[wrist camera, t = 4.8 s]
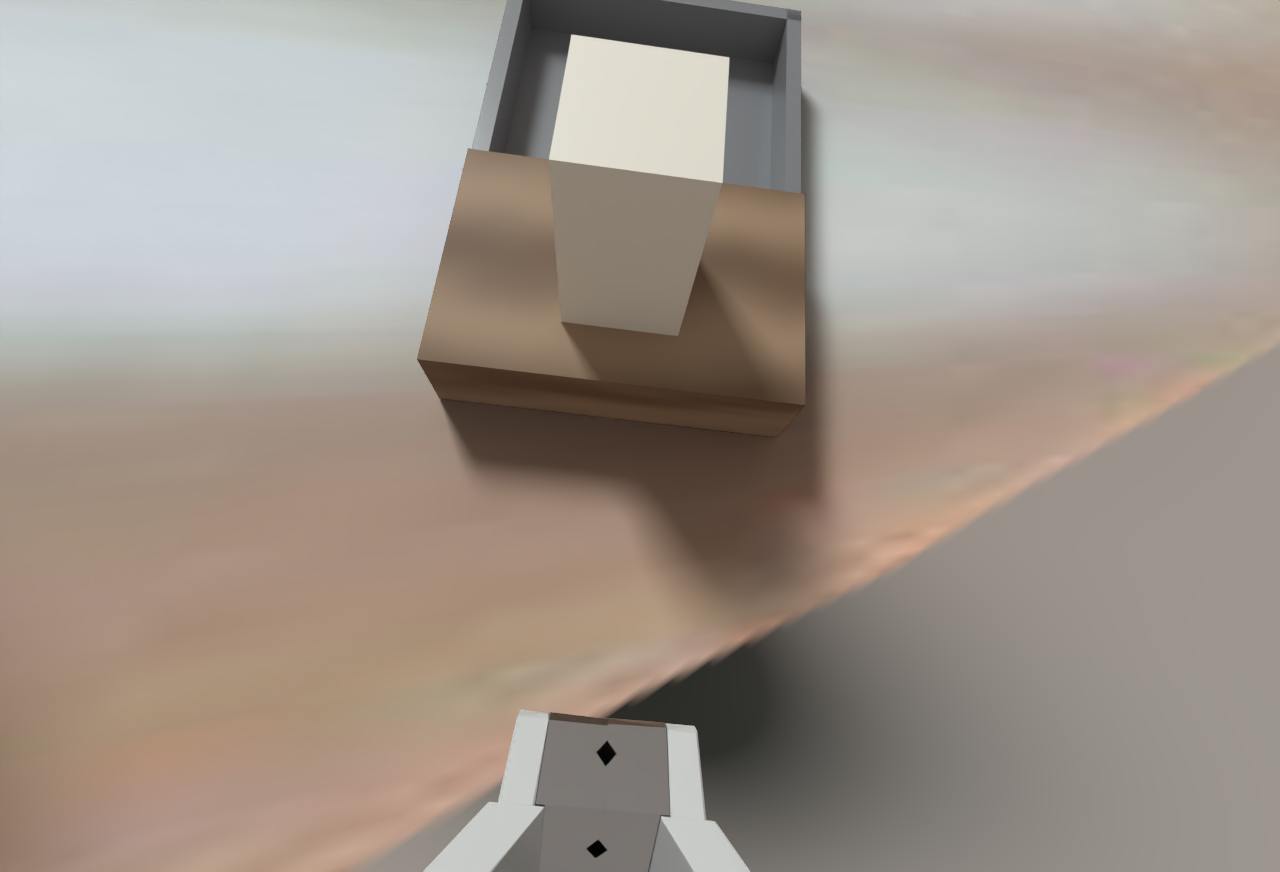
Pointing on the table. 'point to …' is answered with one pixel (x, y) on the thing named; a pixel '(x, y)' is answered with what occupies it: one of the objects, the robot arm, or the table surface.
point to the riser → (607, 357)
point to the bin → (668, 18)
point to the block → (635, 180)
